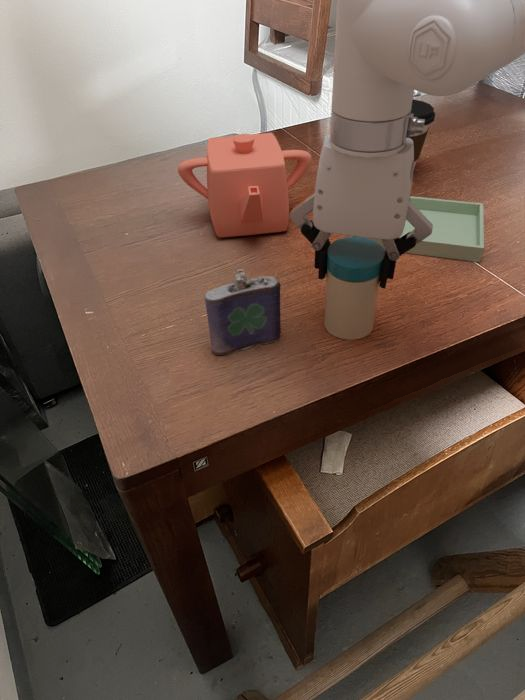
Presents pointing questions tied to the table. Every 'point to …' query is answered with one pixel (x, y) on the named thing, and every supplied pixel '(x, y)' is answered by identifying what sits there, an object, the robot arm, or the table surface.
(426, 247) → the tray
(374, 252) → the lid
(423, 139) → the coffee cup
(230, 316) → the flask
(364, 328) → the jar
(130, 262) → the table surface
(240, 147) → the teapot
